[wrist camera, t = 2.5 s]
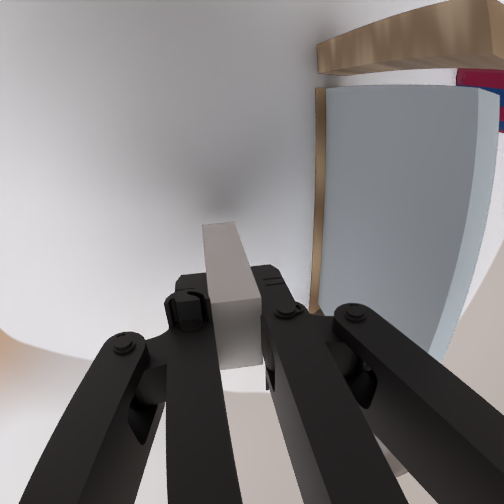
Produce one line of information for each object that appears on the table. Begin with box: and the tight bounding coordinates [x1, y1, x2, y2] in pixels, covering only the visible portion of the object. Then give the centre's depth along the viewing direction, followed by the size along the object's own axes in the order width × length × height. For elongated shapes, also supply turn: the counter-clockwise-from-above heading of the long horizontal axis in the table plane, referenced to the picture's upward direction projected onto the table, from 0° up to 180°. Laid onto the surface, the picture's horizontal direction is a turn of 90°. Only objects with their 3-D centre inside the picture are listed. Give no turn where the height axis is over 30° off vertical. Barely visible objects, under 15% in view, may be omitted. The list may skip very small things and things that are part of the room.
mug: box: [456, 68, 504, 133], centre depth 16 cm, size 7×10×7 cm
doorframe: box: [309, 0, 504, 477], centre depth 16 cm, size 26×2×15 cm, turn 2°
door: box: [318, 85, 500, 363], centre depth 16 cm, size 16×3×13 cm, turn 2°
